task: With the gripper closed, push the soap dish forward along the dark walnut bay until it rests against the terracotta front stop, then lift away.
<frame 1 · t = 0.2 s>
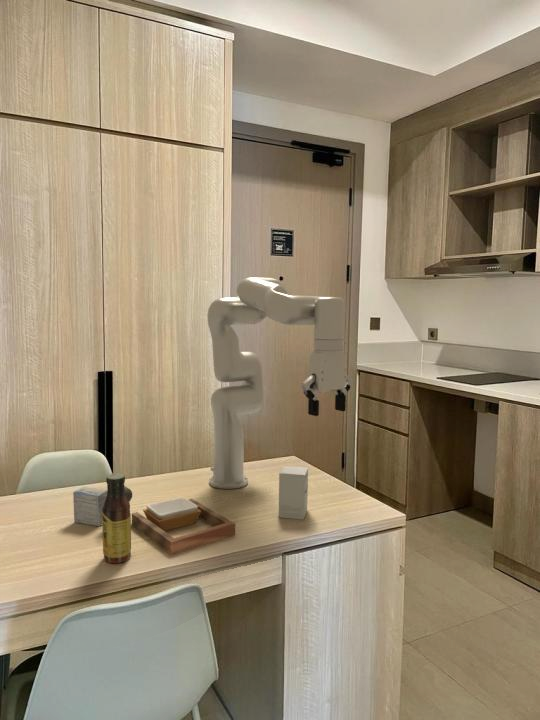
hand: (327, 412, 141), 31 cm above the table, tool pointing down, fingers open, 9 cm apart
soap dish: (172, 524, 148), on the table
medicine box: (91, 522, 147), on the table
bay: (181, 528, 144), on the table
supplement box: (293, 514, 155), on the table
sauce bottle: (117, 559, 127), on the table
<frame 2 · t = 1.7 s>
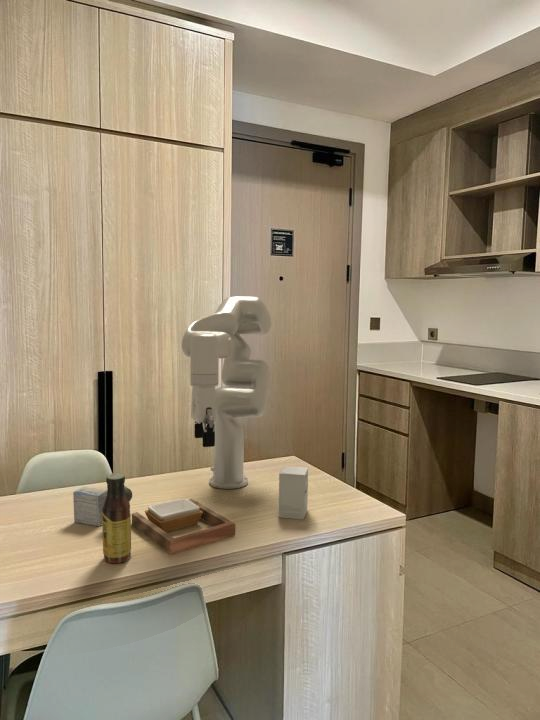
hand: (204, 441, 150), 21 cm above the table, tool pointing down, fingers open, 9 cm apart
nothing on the table moved.
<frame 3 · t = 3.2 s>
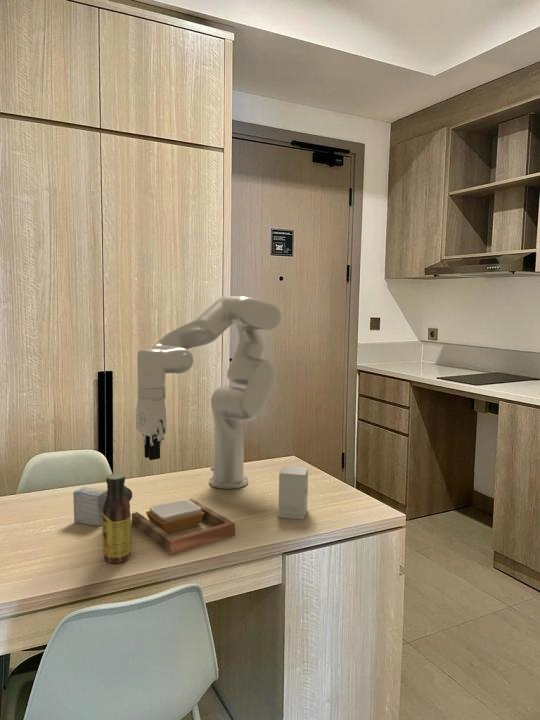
hand: (152, 457, 155), 15 cm above the table, tool pointing down, fingers closed
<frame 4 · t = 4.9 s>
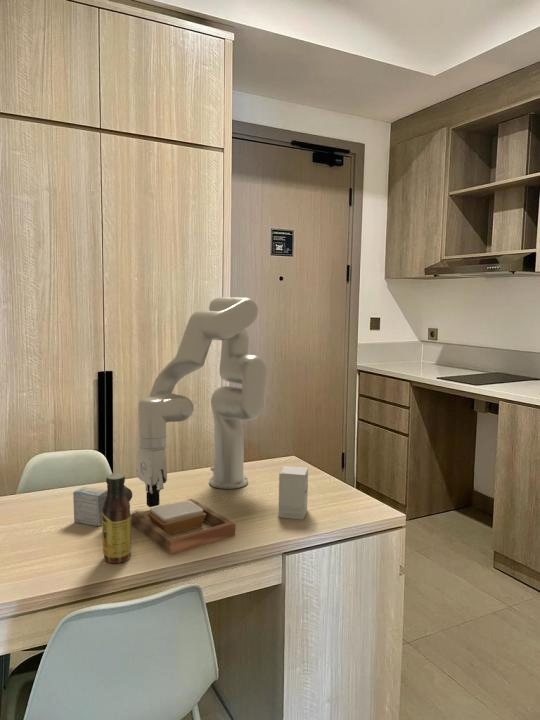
hand: (153, 505, 156), 1 cm above the table, tool pointing down, fingers closed
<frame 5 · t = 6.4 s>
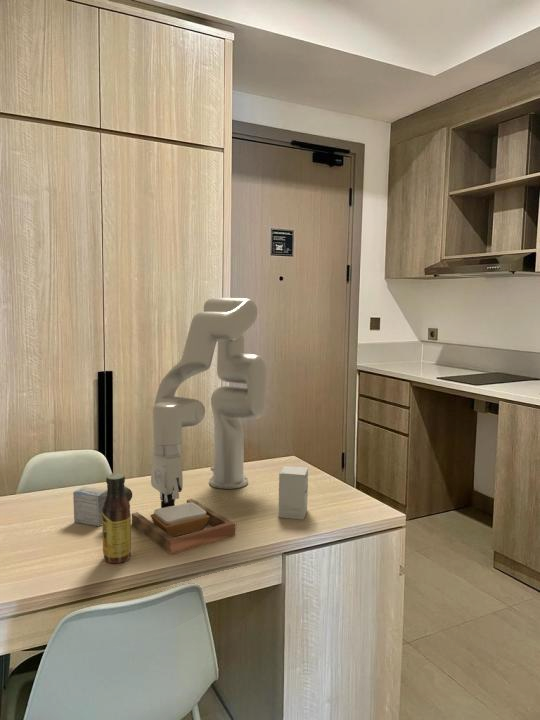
hand: (167, 514, 149), 1 cm above the table, tool pointing down, fingers closed
soap dish: (179, 529, 144), on the table
everything else where it was.
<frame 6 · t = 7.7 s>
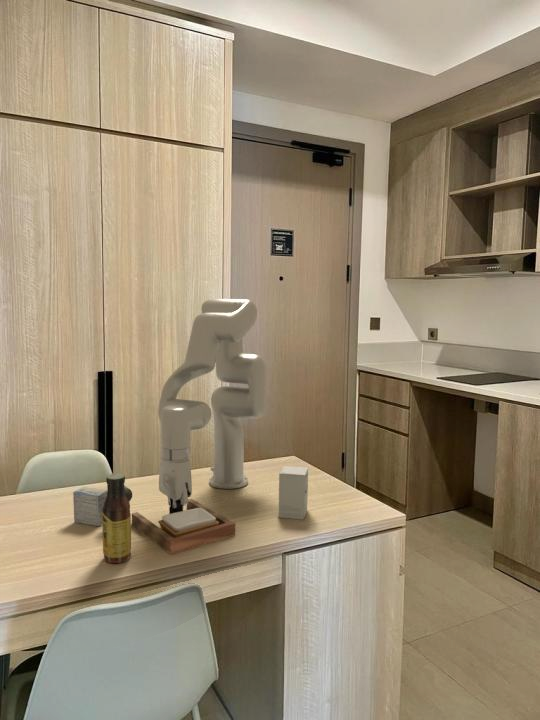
hand: (176, 520, 146), 1 cm above the table, tool pointing down, fingers closed
soap dish: (188, 536, 140), on the table
everything else where it was.
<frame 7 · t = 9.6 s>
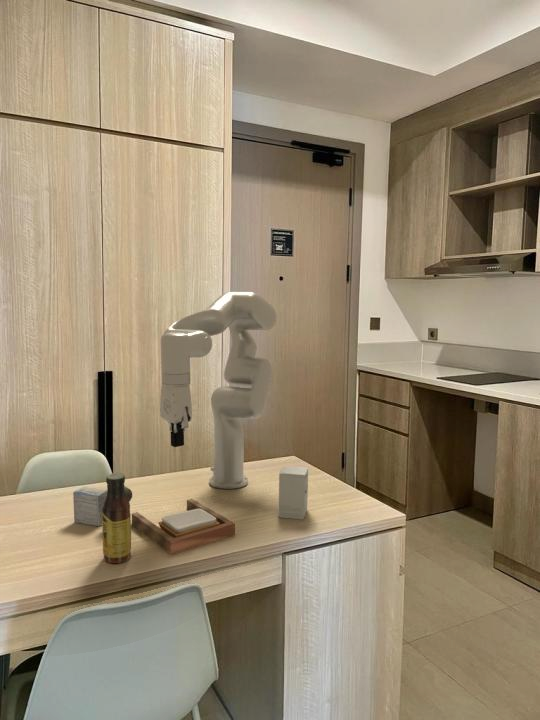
hand: (177, 445, 150), 20 cm above the table, tool pointing down, fingers closed
soap dish: (188, 537, 140), on the table, touching bay
everything else where it was.
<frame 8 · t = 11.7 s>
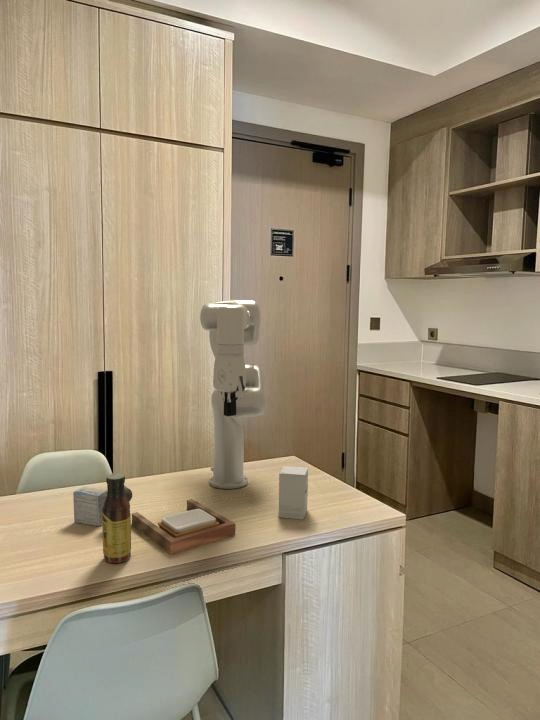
hand: (229, 415, 155), 27 cm above the table, tool pointing down, fingers closed
soap dish: (188, 537, 139), on the table
everything else where it was.
at the end: soap dish inside the target area (0.7 cm from its centre), on the table; soap dish tilted 0°; soap dish moved 10.1 cm from its start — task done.
